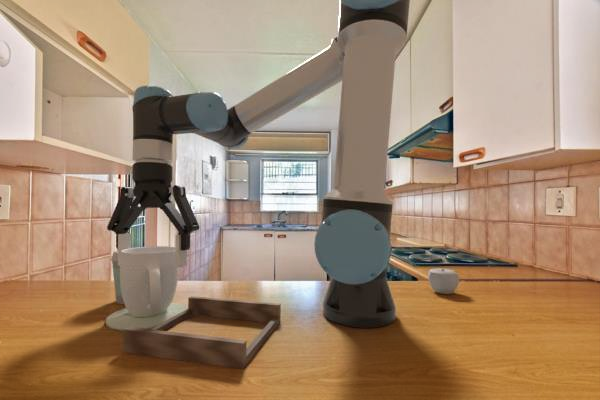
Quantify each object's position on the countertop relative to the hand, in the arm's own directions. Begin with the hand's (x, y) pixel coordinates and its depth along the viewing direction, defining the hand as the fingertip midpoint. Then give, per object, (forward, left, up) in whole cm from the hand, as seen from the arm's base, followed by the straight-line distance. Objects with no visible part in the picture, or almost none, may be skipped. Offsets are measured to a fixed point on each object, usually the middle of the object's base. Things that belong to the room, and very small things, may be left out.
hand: (152, 265), depth 61 cm
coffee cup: (+12, -8, -11) cm, 18 cm away
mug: (0, 0, -10) cm, 10 cm away
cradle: (-17, +5, -10) cm, 20 cm away
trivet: (0, 0, -10) cm, 10 cm away
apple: (-64, -35, -11) cm, 73 cm away
